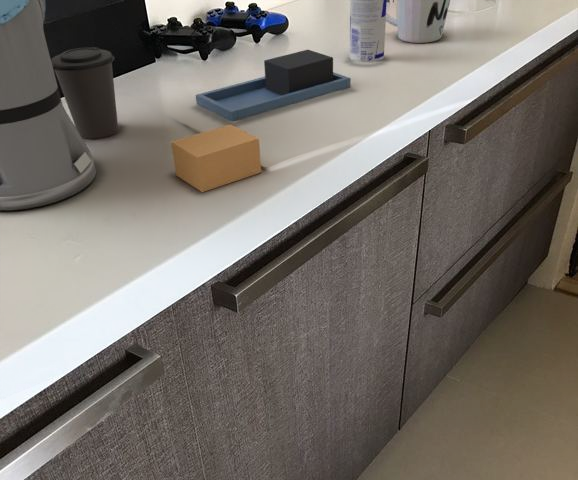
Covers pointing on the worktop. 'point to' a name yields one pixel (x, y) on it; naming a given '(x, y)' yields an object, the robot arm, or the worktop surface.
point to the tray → (261, 97)
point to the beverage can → (367, 30)
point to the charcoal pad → (297, 71)
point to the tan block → (216, 157)
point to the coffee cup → (88, 90)
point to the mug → (420, 19)
